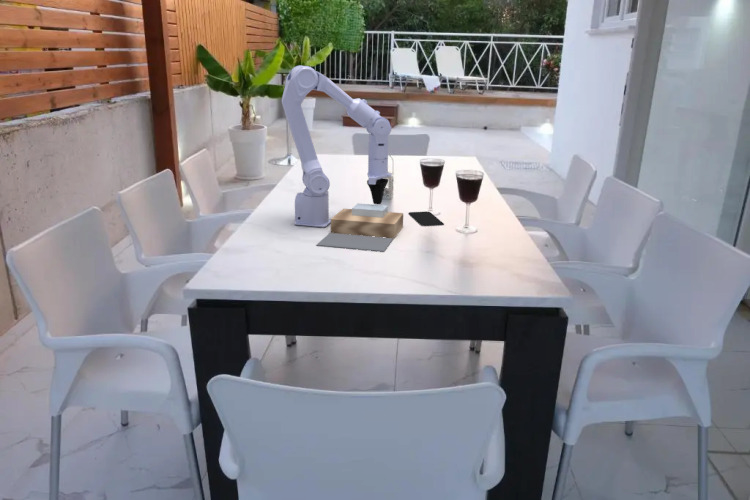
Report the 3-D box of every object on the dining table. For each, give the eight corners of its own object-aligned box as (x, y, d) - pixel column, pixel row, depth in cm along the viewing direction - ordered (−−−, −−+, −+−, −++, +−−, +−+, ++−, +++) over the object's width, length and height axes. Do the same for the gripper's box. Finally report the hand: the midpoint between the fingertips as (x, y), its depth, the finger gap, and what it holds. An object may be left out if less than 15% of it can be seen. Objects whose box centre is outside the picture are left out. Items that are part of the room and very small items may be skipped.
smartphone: (421, 225, 171) (407, 212, 185) (421, 227, 171) (407, 214, 185) (445, 224, 172) (429, 211, 186) (445, 226, 173) (429, 213, 186)
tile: (351, 215, 166) (351, 208, 166) (357, 210, 172) (357, 203, 171) (382, 217, 164) (383, 210, 164) (387, 212, 170) (387, 205, 169)
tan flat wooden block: (330, 232, 164) (330, 218, 162) (343, 221, 175) (343, 208, 173) (394, 238, 159) (394, 224, 158) (402, 226, 171) (403, 213, 169)
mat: (316, 245, 152) (316, 244, 152) (329, 233, 163) (329, 232, 163) (384, 252, 148) (384, 250, 148) (393, 239, 159) (393, 238, 158)
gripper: (385, 163, 164) (384, 210, 168) (396, 154, 177) (395, 198, 182) (361, 161, 166) (361, 208, 170) (373, 153, 179) (373, 197, 183)
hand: (377, 203), depth 176 cm, fingers closed
